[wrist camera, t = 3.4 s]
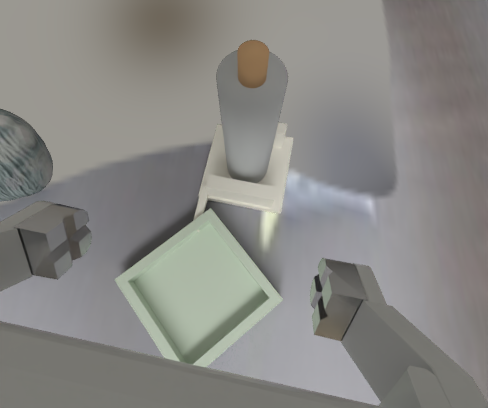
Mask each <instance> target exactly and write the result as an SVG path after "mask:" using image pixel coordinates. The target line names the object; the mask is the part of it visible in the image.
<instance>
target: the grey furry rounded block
mask: <svg viewBox="0 0 488 408" xmlns="http://www.w3.org/2000/svg"><path fill="white" fill-rule="evenodd" d="M52 170H53V163H52V158H51V155H50V153H49V151H48V149H47V147H46V145H45V143H44V141H43V140H42V139H41V138H40V136H39V135H38V134H37V133H36V131H35V130H34V129H33V128H32V127H31V126H30V125H29V124H28V123H27V122H26V121H24V120H23V119H22V118H20V117H18V116H17V115H15V114H13V113H11V112H8V111H6V110H3V109H0V201H8V200H14V199H17V198H21V197H25V196H29V195H32V194H35V193H37V192H40V191H41V190H42V189H44V188H45V187H46V185H47V184H48V183H49V182H50V180H51V177H52Z"/></svg>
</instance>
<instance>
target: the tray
mask: <svg viewBox="0 0 488 408" xmlns="http://www.w3.org/2000/svg"><path fill="white" fill-rule="evenodd" d="M197 230H200V231H199V232H197ZM115 281H116V283H117V285H118V286H119V288H120V289H121V291H122V292H123V294H124V295H125V297H126V299H127V300H128V302H129V303H130V305H131V306H132V308H133V310H134V311H135V313H136V314H137V316H138V317H139V319H140V320H141V322H142V324H143V325H144V327H145V328H146V330H147V331H148V333H149V335H150V336H151V338H152V339H153V341H154V342H155V344H156V345H157V347H158V349H159V350H160V352H161V353H162V355H163V356H164V358H166V359H171V360H175V361H180V362H184V363H189V364H193V365H197V366H202V367H207V366H208V365H209V364H210V363H212V362H213V361H214V360H215V359H216V358H217V357H218V356H220V355H221V354H222V353H223V352H224V351H225V350H226V349H228V348H229V347H230V346H231V345H232V344H233V343H234V342H236V341H237V340H238V339H239V338H240V337H241V336H242V335H244V334H245V333H246V332H247V331H248V330H249V329H250V328H252V327H253V326H254V325H255V324H256V323H257V322H258V321H260V320H261V319H262V318H263V317H264V316H265V315H266V314H268V313H269V312H270V311H271V310H272V309H273V308H274V307H276V306H277V305H278V304H279V303H280V302H281V301H282V300H283V299H282V298H281V296H280V295H279V294H278V292H277V291H276V290H275V289H274V287H273V286H272V285H271V284H270V282H269V281H268V280H267V279H266V277H265V276H264V275H263V273H262V272H261V271H260V270H259V268H258V267H257V266H256V265H255V263H254V262H253V261H252V260H251V258H250V257H249V256H248V255H247V253H246V252H245V251H244V249H243V248H242V247H241V246H240V244H239V243H238V242H237V241H236V239H235V238H234V237H233V236H232V234H231V233H230V232H229V230H228V229H227V228H226V227H225V225H224V224H223V223H222V222H221V220H220V219H219V218H218V217H217V215H216V214H215V213H214V211H213V210H212V209H211V208H210V209H209V210H207V211H206V212H205V213H203V214H202V215H201V216H199V217H198V218H197V219H195V220H194V221H193V222H191V223H190V224H189V225H187V226H186V227H185V228H183V229H182V230H180V231H179V232H178V233H176V234H175V235H174V236H172V237H171V238H170V239H168V240H167V241H166V242H164V243H163V244H162V245H160V246H159V247H158V248H156V249H155V250H154V251H152V252H151V253H150V254H148V255H147V256H146V257H144V258H143V259H142V260H140V261H139V262H138V263H136V264H135V265H134V266H132V267H131V268H129V269H128V270H127V271H125V272H124V273H123V274H121V275H120V276H119V277H117V278H116V279H115Z"/></svg>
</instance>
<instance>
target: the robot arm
mask: <svg viewBox="0 0 488 408" xmlns="http://www.w3.org/2000/svg"><path fill="white" fill-rule="evenodd" d="M88 222H89V218H88V213H87V212H86V211H85V210H83V209H79V208H74V207H70V206H65V205H61V204H55V203H51V202H46V201H37V202H35V203H33V204H32V205H30V206H28V207H26V208H24V209H23V210H21V211H19V212H17V213H16V214H14V215H12V216H10V217H8V218H7V219H5V220H3V221H1V222H0V291H2V290H4V289H7V288H9V287H11V286H13V285H15V284H17V283H19V282H21V281H23V280H25V279H27V278H30V277H32V275H35V276H41V277H46V278H52V279H57V280H58V279H59V278H60V277H61V276H62V275H63V274H64V273H65V272H66V271H67V270H68V269H70V268H71V267H72V263H73V260H75V259H78V258H80V257H82V256H83V255H84V254H85V253H86V252H87V250H88V248H89V246H90V244H91V239H92V236H91V231H90V230H89V228H88V227H87V226H86V224H87V223H88ZM318 271H319V274H318V275H316V276H315V277H314V279H313V282H312V286H311V291H310V302H311V306H312V307H313V308H314V313H313V315H312V321H313V329H314V335H318V336H322V337H326V338H330V339H334V340H338V341H342V342H341V343H342V345H343V346H344V348H345V349H346V351H347V352H348V353H349V355H350V356H351V358H352V359H353V361H354V362H355V364H356V365H357V367H358V368H359V370H360V371H361V373H362V374H363V376H364V377H365V379H366V380H367V382H368V383H369V385H370V386H371V388H372V389H373V391H374V392H375V394H376V395H377V397H378V398H379V400H380V401H381V403H380V405H379V406H376V405H371V404H367V403H363V402H358V401H354V400H349V399H345V398H340V397H336V396H331V395H327V394H323V393H318V392H314V391H309V390H305V389H300V388H296V387H291V386H287V385H283V384H278V383H274V382H269V381H265V380H260V379H256V378H251V377H247V376H242V375H238V374H233V373H229V372H224V371H220V370H215V369H211V368H206V367H202V366H197V365H193V364H189V363H184V362H180V361H175V360H171V359H166V358H162V357H157V356H153V355H148V354H144V353H140V352H135V351H131V350H126V349H122V348H117V347H113V346H109V345H104V344H100V343H95V342H91V341H86V340H82V339H78V338H73V337H69V336H64V335H60V334H55V333H51V332H46V331H42V330H38V329H33V328H29V327H24V326H20V325H15V324H11V323H6V322H2V321H0V408H488V403H487V401H486V399H485V398H484V396H483V394H482V393H481V391H480V389H479V388H478V386H477V384H476V383H475V381H474V379H473V378H472V377H471V376H470V375H469V374H468V373H467V372H466V371H464V370H463V369H462V368H461V367H460V366H459V365H458V364H457V363H455V362H454V361H453V360H452V359H451V358H450V357H449V356H448V355H446V354H445V353H444V352H443V351H442V350H441V349H440V348H439V347H437V346H436V345H435V344H434V343H433V342H432V341H431V340H430V339H428V338H427V337H426V336H425V335H424V334H423V333H422V332H421V331H419V330H418V329H417V328H416V327H415V326H414V325H413V324H412V323H410V322H409V321H408V320H407V319H406V318H405V317H404V316H403V315H401V314H400V313H399V312H398V311H397V310H396V309H395V308H394V307H392V306H389V305H387V304H386V302H385V299H384V297H383V295H382V292H381V290H380V288H379V285H378V283H377V281H376V278H375V276H374V274H373V271H372V269H371V268H370V267H369V266H366V265H360V264H354V263H353V264H351V263H346V262H341V261H336V260H331V259H326V258H322V259H321V261H320V263H319V265H318Z"/></svg>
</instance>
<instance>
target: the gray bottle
mask: <svg viewBox="0 0 488 408" xmlns="http://www.w3.org/2000/svg"><path fill="white" fill-rule="evenodd" d="M216 80H217V88H218V96H219V104H220V112H221V120H222V128H223V137H224V145H225V153H226V161H227V169H228V172H229V174H230V176H231V177H232V179H236V180H241V181H246V182H251V183H257V182H259V181H261V180H262V179H263V178H264V176H265V175H266V173H267V170H268V165H269V161H270V157H271V152H272V148H273V143H274V139H275V135H276V130H277V126H278V122H279V117H280V113H281V108H282V104H283V100H284V96H285V91H286V87H287V82H288V74H287V70H286V67H285V65H284V64H283V62H282V61H281V60H280V59H279V58H278V57H277V56H276V55H274V54H273V53H271V52H269V49H268V47H267V46H266V45H265V44H264V43H262V42H260V41H257V40H250V41H246V42H244V43H242V44H241V45H240V46H239V48H238V50H237V51H234V52H232V53H231V54H229V55H228V56H226V57H225V58H224V59H223V60H222V62H221V63H220V65H219V67H218V69H217V74H216Z"/></svg>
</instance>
